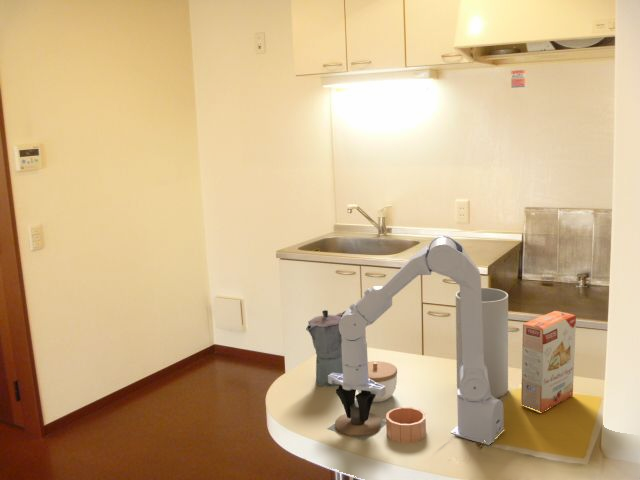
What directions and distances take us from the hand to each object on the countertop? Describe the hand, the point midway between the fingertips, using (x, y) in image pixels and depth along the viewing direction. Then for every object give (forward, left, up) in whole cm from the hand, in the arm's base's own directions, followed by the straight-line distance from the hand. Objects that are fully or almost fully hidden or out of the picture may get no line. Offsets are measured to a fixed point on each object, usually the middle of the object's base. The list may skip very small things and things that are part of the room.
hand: (357, 418), depth 152 cm
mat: (0, 0, -2) cm, 2 cm away
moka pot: (+21, -18, -2) cm, 28 cm away
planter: (-11, -3, -2) cm, 12 cm away
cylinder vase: (-15, -33, -2) cm, 36 cm away
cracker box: (-31, -35, -2) cm, 47 cm away
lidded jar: (+5, -15, -2) cm, 16 cm away
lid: (0, 0, -2) cm, 2 cm away
